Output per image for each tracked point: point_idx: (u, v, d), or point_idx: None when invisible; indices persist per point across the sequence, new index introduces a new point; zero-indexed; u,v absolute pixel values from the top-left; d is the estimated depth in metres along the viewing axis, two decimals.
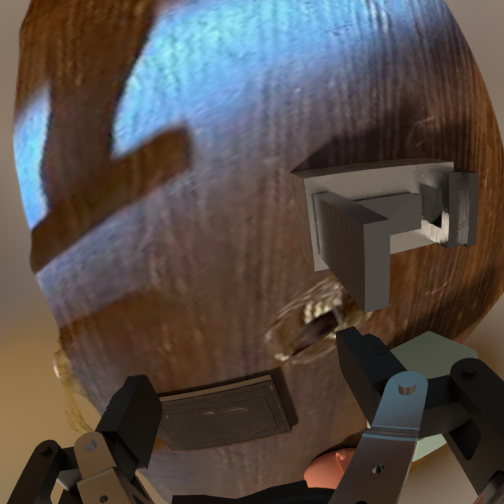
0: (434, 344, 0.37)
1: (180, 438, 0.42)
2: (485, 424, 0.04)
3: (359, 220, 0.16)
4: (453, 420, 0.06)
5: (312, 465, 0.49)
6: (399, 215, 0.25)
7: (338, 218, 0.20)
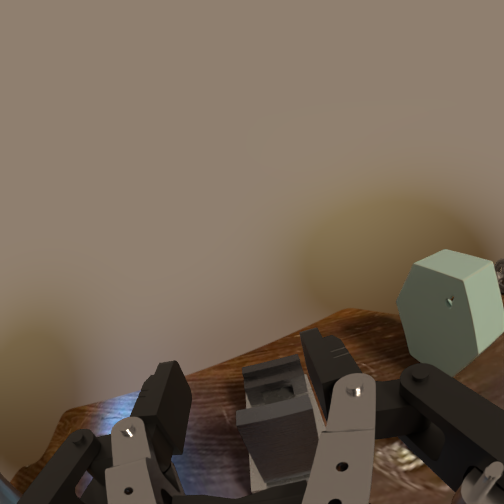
0: (413, 341, 0.41)
1: None
2: (447, 426, 0.05)
3: (239, 430, 0.20)
4: (411, 425, 0.06)
5: None
6: None
7: (257, 452, 0.20)
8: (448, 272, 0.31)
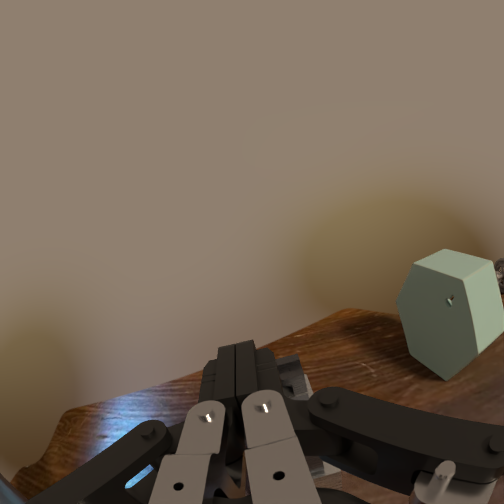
0: (413, 340, 0.41)
1: None
2: (376, 442, 0.05)
3: None
4: (334, 448, 0.06)
5: None
6: None
7: None
8: (448, 272, 0.31)
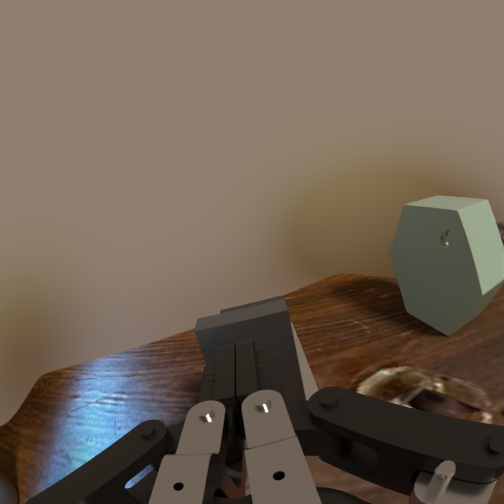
0: (409, 294, 0.39)
1: None
2: (376, 442, 0.05)
3: (198, 340, 0.18)
4: (334, 448, 0.06)
5: None
6: None
7: None
8: (441, 206, 0.29)
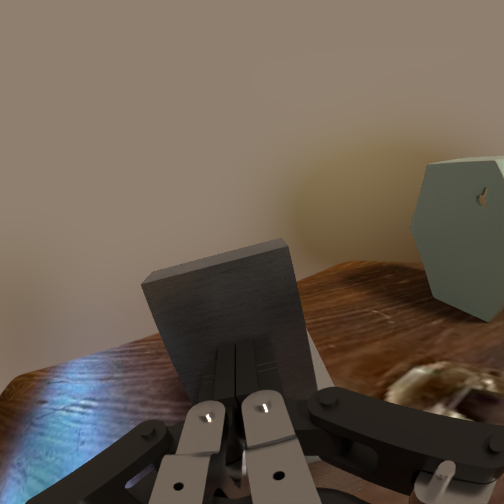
0: (437, 275, 0.31)
1: None
2: (376, 442, 0.05)
3: (147, 300, 0.11)
4: (334, 448, 0.06)
5: None
6: None
7: (189, 366, 0.12)
8: (473, 160, 0.21)
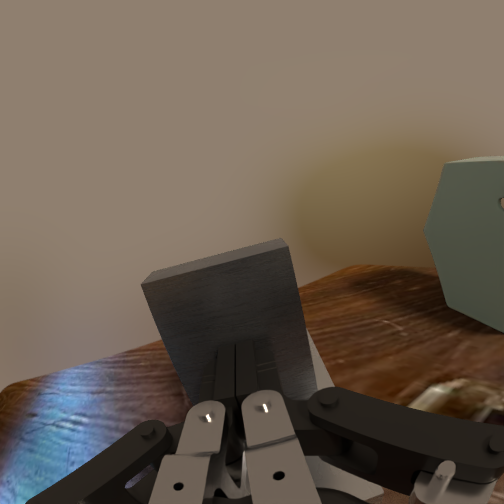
0: (452, 283, 0.28)
1: None
2: (376, 442, 0.05)
3: (148, 300, 0.11)
4: (334, 448, 0.06)
5: None
6: None
7: (189, 366, 0.12)
8: (496, 159, 0.18)
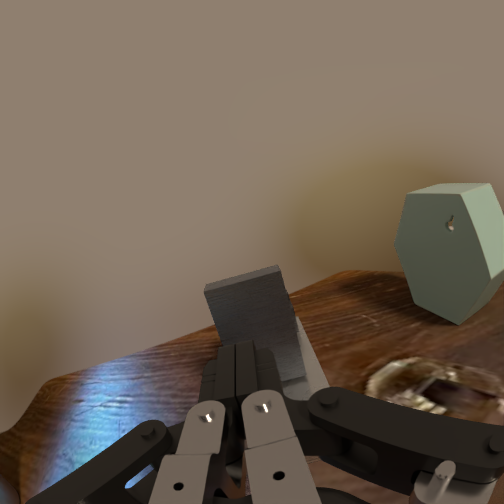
0: (417, 285, 0.38)
1: None
2: (376, 442, 0.05)
3: None
4: (334, 448, 0.06)
5: None
6: None
7: (228, 336, 0.23)
8: (444, 192, 0.28)
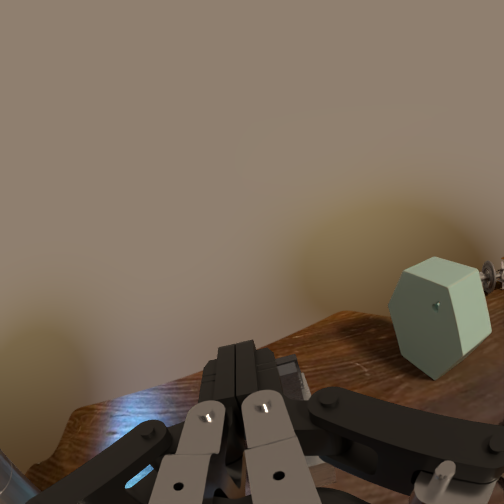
0: (404, 342, 0.44)
1: None
2: (376, 442, 0.05)
3: None
4: (334, 448, 0.06)
5: None
6: None
7: None
8: (434, 279, 0.34)
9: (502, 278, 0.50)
